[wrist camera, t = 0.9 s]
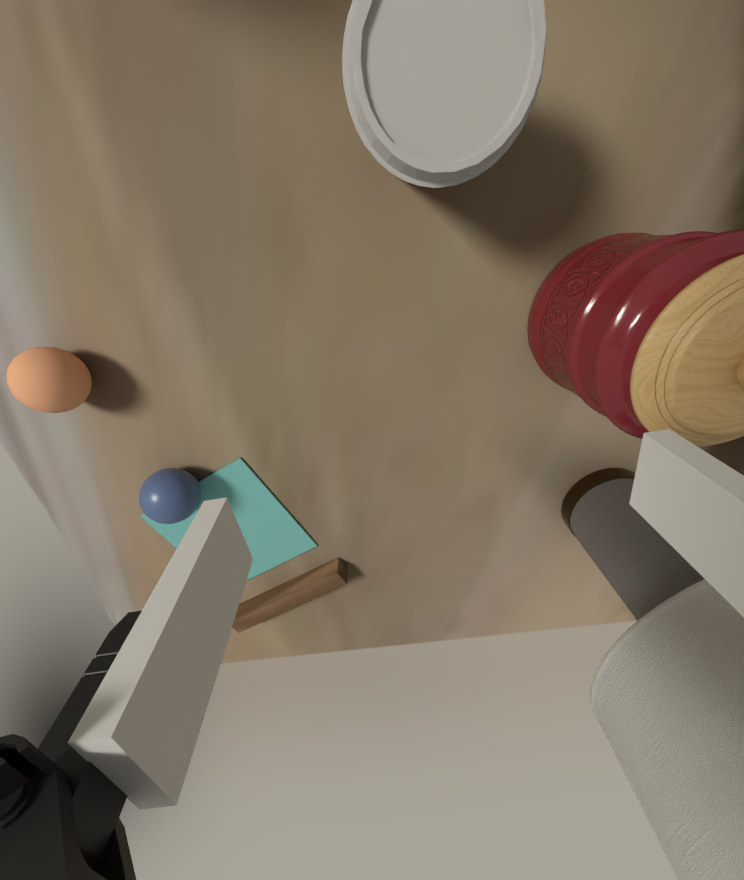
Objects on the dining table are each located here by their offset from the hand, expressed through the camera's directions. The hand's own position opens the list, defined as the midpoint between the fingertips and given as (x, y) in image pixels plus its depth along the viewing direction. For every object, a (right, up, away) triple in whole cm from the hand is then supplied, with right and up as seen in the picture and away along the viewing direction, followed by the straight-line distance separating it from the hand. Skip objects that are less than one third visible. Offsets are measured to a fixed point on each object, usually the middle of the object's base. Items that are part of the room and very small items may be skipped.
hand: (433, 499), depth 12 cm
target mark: (-18, -8, +31) cm, 37 cm away
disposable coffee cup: (+1, +25, +15) cm, 29 cm away
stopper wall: (-12, -17, +36) cm, 42 cm away
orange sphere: (-29, +7, +20) cm, 36 cm away
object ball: (-22, -4, +26) cm, 34 cm away
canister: (+18, +13, +22) cm, 31 cm away
